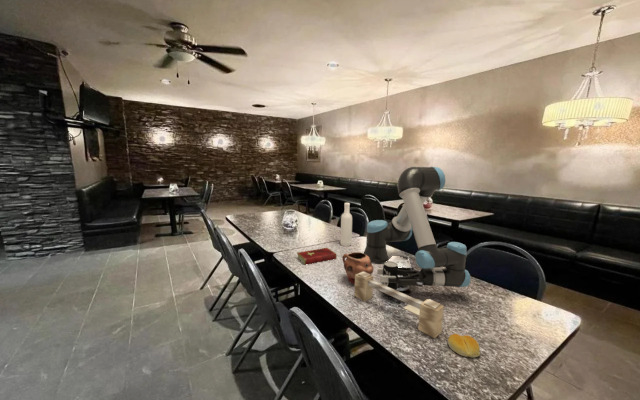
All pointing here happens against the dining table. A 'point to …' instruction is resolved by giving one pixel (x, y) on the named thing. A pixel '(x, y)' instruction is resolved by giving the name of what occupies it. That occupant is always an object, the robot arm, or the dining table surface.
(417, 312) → the pad
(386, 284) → the beverage can
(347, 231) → the bottle
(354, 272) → the brown sculpted mug
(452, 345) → the bread roll
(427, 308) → the handrail
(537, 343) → the dining table surface
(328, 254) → the hardcover book
